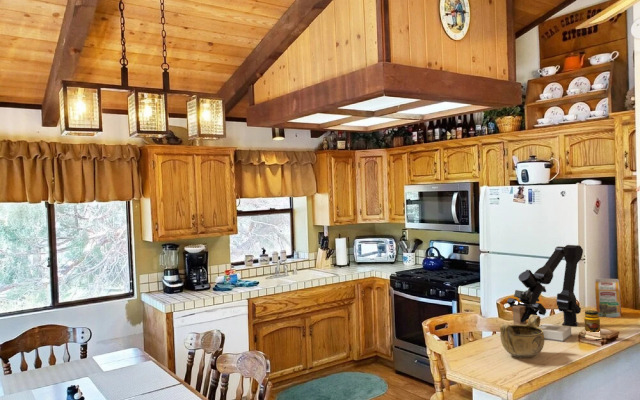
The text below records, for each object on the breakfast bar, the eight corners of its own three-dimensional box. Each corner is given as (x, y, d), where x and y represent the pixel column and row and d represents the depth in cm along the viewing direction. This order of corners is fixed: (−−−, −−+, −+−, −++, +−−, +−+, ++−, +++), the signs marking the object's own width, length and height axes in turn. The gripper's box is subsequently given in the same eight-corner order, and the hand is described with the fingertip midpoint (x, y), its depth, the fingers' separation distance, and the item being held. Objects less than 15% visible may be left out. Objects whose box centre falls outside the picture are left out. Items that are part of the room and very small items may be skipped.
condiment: (593, 341, 222) (591, 313, 222) (577, 336, 230) (576, 310, 230) (606, 338, 224) (604, 311, 224) (590, 334, 232) (589, 308, 232)
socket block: (544, 332, 240) (543, 323, 240) (571, 335, 232) (570, 326, 232) (535, 338, 231) (534, 329, 231) (563, 341, 223) (562, 332, 223)
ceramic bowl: (522, 346, 221) (520, 311, 221) (558, 354, 207) (556, 317, 207) (488, 357, 209) (486, 320, 209) (524, 367, 195) (522, 328, 195)
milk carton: (621, 313, 265) (619, 277, 265) (620, 318, 256) (618, 280, 256) (598, 312, 271) (596, 276, 271) (596, 317, 262) (594, 280, 262)
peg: (520, 334, 238) (518, 305, 238) (527, 336, 234) (525, 306, 234) (514, 336, 236) (512, 306, 236) (521, 338, 233) (519, 307, 233)
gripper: (508, 281, 245) (492, 307, 241) (540, 285, 229) (524, 314, 224) (520, 295, 249) (505, 321, 244) (553, 300, 232) (537, 329, 227)
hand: (517, 321), depth 235 cm, fingers closed on peg, 4 cm apart
